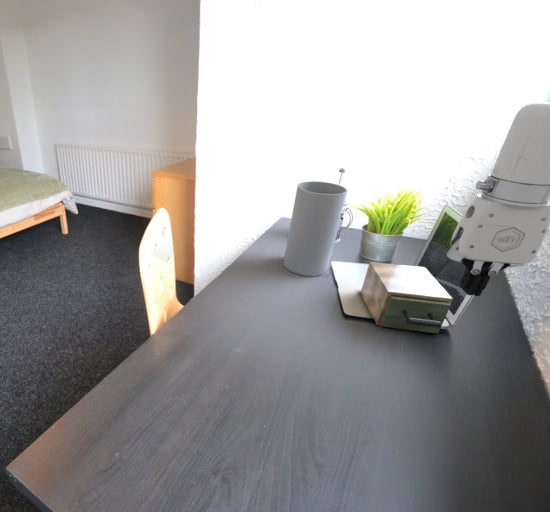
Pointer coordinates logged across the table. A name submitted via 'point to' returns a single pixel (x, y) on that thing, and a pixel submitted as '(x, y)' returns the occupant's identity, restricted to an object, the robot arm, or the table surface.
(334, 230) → the cylinder vase
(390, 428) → the table surface
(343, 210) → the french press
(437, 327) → the drawer
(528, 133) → the robot arm
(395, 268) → the cabinet
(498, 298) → the table surface
